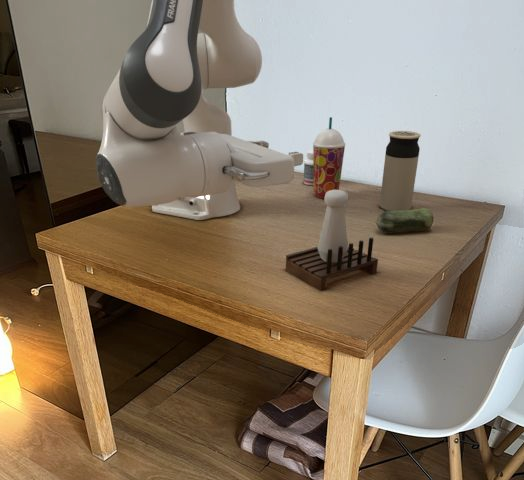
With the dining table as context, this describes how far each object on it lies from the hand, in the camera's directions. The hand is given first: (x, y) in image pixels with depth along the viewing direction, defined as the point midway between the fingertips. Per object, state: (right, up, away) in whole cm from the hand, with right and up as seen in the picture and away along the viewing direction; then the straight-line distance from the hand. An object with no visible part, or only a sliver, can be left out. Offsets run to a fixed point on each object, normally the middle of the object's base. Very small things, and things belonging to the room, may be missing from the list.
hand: (282, 152), depth 88 cm
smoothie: (+14, +10, +61) cm, 63 cm away
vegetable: (+29, -5, +38) cm, 48 cm away
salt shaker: (+10, -15, +17) cm, 25 cm away
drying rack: (+10, -17, +19) cm, 27 cm away
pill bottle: (+11, +17, +71) cm, 74 cm away
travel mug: (+31, +5, +52) cm, 61 cm away
